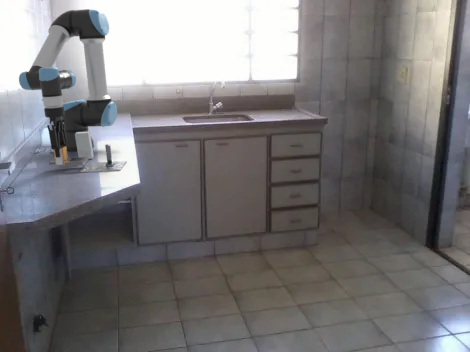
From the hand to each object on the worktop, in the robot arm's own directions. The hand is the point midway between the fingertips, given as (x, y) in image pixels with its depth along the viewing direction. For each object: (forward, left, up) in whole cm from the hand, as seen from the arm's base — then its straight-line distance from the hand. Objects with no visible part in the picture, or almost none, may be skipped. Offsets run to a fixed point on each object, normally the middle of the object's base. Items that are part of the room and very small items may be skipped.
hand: (61, 162), depth 204 cm
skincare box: (-17, +5, -3) cm, 18 cm away
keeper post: (0, +17, -3) cm, 18 cm away
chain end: (0, +2, 0) cm, 2 cm away
